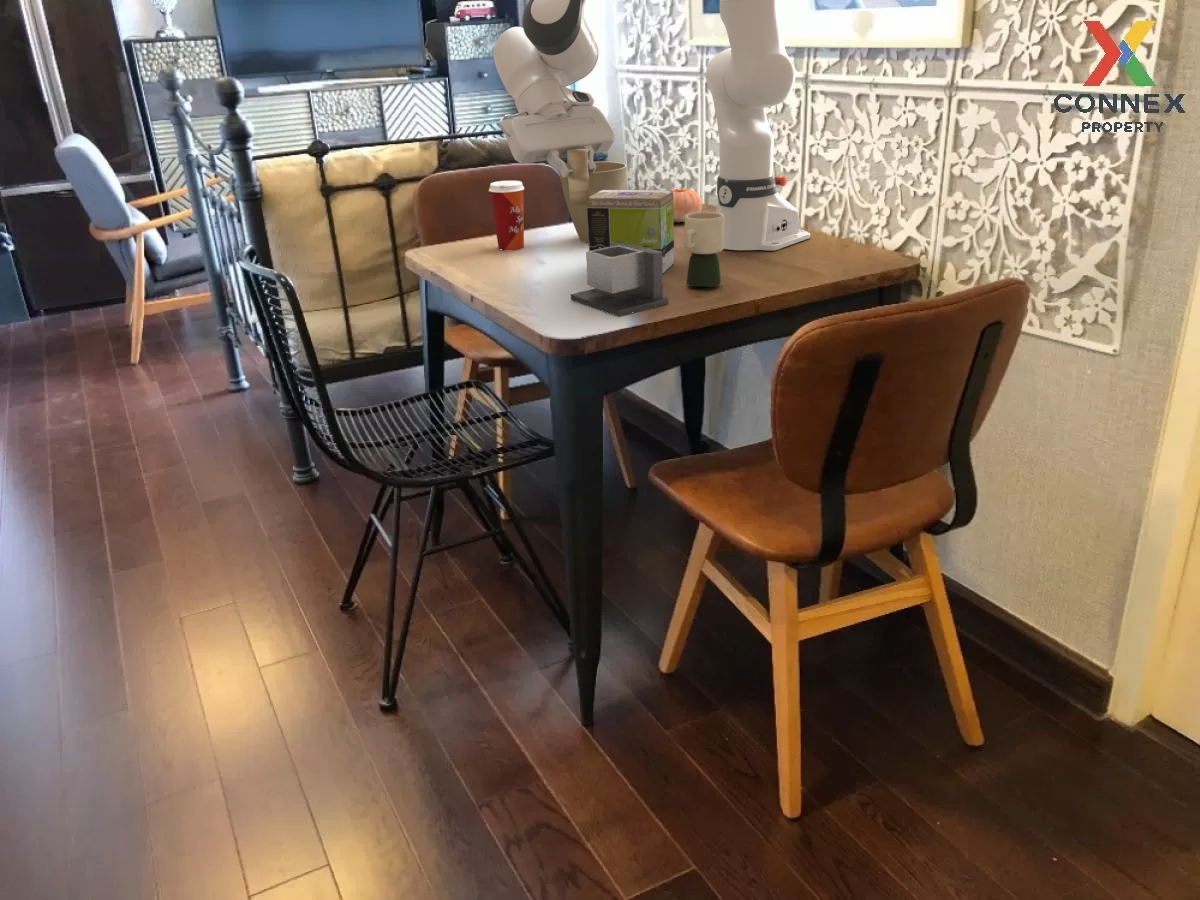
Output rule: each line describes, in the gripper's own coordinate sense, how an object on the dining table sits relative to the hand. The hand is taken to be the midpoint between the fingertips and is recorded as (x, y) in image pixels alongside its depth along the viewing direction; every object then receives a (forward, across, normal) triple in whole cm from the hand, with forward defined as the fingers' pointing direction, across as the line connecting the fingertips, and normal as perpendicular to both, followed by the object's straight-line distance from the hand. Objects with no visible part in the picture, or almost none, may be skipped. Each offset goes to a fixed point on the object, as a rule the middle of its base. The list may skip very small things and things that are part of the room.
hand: (580, 173), depth 163 cm
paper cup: (-14, +9, +44) cm, 47 cm away
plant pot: (-9, +27, +39) cm, 48 cm away
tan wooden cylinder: (+3, 0, +4) cm, 5 cm away
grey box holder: (+22, 0, +8) cm, 23 cm away
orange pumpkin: (-10, +53, +40) cm, 67 cm away
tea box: (+10, +17, +21) cm, 29 cm away
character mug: (+24, +18, +7) cm, 31 cm away
